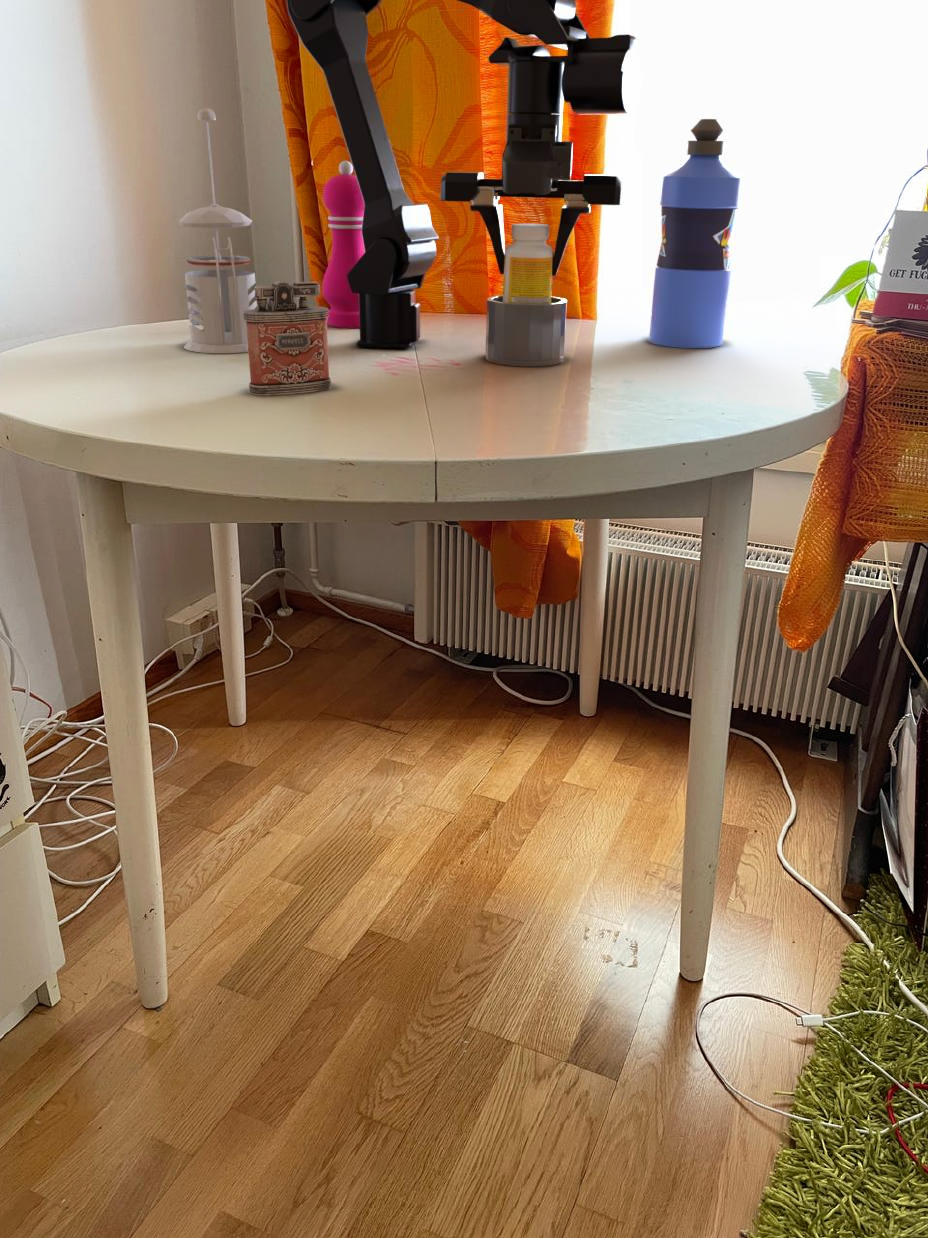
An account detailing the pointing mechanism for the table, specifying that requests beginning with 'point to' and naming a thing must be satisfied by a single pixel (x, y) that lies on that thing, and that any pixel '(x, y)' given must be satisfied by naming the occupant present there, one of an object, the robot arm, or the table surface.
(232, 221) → the french press
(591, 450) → the table surface
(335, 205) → the pepper mill
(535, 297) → the supplement bottle
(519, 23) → the robot arm
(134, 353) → the table surface
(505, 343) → the grey cylindrical cup
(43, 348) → the table surface
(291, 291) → the lighter
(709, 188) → the water bottle
